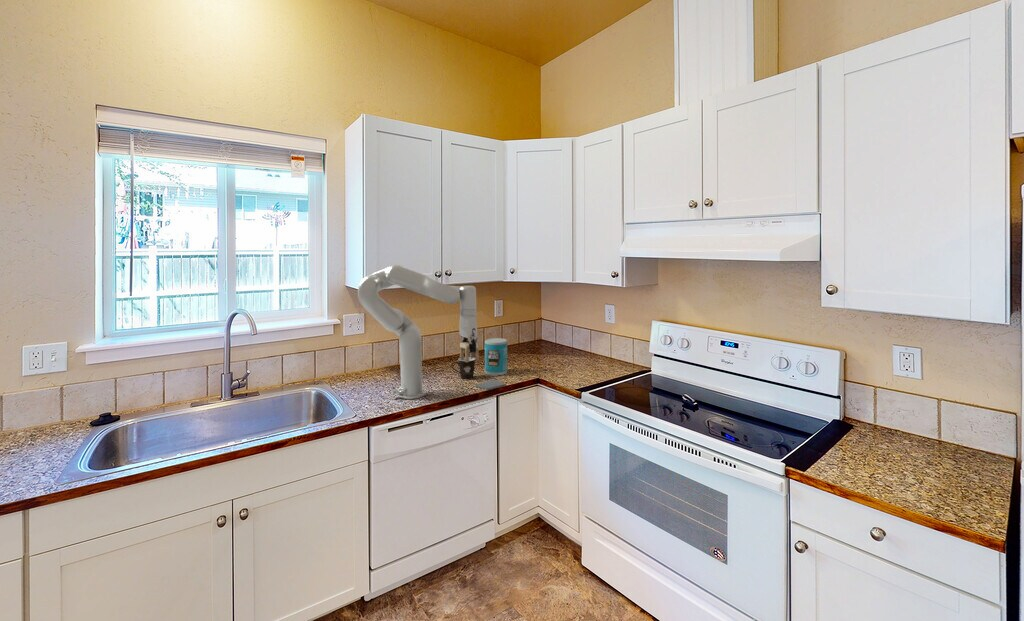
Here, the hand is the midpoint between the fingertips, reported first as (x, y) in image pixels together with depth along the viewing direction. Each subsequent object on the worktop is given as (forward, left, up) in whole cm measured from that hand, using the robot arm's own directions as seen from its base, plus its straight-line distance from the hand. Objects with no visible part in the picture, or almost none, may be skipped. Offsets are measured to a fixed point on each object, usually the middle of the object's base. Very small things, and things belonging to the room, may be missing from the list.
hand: (469, 350), depth 209 cm
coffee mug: (+11, +20, -20) cm, 30 cm away
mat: (+13, 0, -20) cm, 24 cm away
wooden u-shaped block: (0, 0, -5) cm, 5 cm away
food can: (+29, +16, -20) cm, 39 cm away
